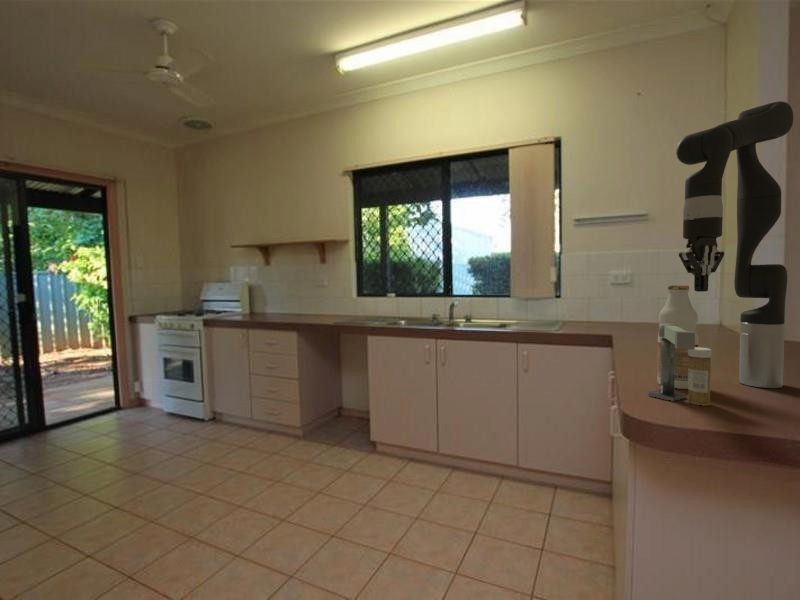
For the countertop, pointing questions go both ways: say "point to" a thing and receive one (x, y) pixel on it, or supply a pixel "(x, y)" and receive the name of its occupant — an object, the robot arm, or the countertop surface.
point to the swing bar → (677, 336)
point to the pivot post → (667, 373)
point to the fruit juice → (686, 319)
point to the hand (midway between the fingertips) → (701, 291)
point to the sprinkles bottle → (699, 376)
